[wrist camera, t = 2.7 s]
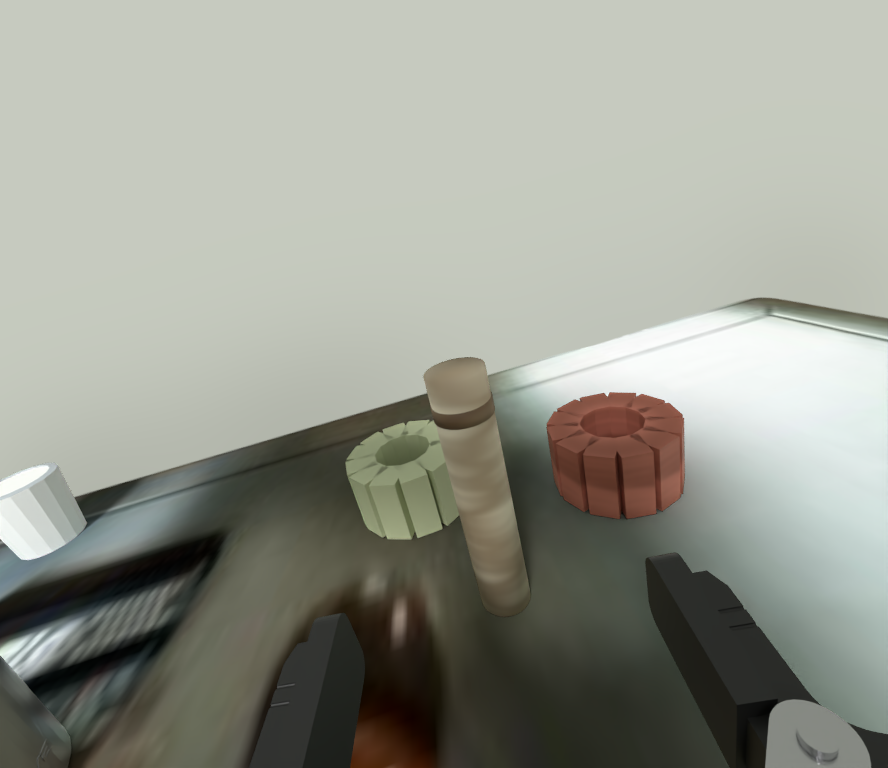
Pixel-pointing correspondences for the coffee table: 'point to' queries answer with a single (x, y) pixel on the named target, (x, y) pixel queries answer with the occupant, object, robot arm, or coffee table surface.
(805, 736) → the robot arm
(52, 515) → the shot glass
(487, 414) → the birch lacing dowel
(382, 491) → the pale green bead
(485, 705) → the coffee table surface
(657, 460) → the red bead
